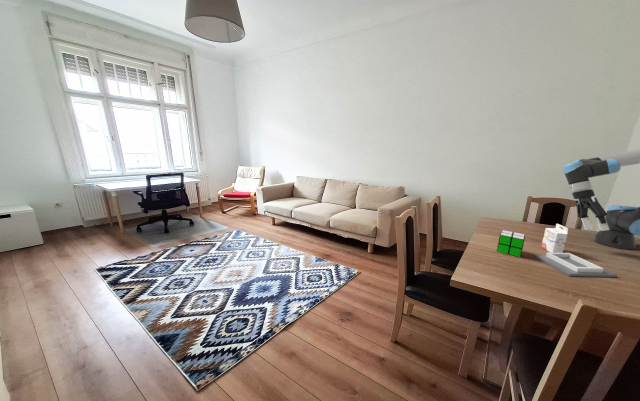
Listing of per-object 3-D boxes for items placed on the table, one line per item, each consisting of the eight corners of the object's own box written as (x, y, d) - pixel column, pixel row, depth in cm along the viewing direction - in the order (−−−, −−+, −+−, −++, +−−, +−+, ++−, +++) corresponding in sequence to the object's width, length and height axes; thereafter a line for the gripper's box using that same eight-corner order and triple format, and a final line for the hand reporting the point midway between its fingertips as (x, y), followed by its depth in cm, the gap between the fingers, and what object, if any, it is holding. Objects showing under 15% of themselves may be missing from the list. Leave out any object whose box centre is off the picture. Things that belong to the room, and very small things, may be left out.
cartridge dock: (573, 257, 117) (575, 251, 116) (616, 277, 100) (618, 270, 99) (533, 256, 118) (535, 251, 117) (569, 276, 101) (570, 269, 100)
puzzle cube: (521, 251, 125) (525, 234, 122) (520, 257, 117) (524, 239, 115) (498, 246, 131) (501, 229, 129) (496, 251, 124) (499, 234, 122)
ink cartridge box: (540, 246, 130) (546, 222, 126) (550, 247, 129) (556, 223, 125) (551, 253, 122) (558, 227, 118) (562, 254, 121) (569, 228, 117)
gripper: (561, 194, 134) (574, 230, 130) (585, 189, 112) (601, 231, 108) (578, 191, 130) (592, 228, 127) (606, 185, 109) (624, 229, 105)
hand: (596, 230), depth 117 cm, fingers open, 13 cm apart
